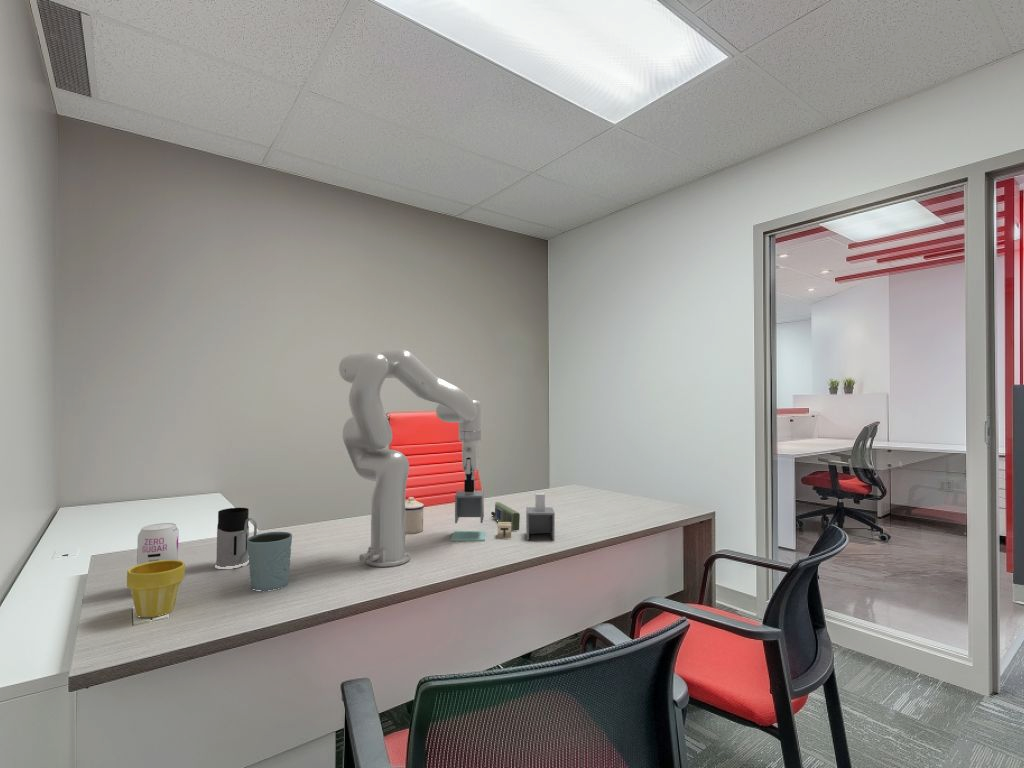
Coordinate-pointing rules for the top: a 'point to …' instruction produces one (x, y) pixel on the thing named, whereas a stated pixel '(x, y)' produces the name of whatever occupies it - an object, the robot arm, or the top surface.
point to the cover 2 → (540, 517)
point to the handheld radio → (506, 515)
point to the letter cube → (504, 529)
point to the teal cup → (269, 560)
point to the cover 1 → (469, 504)
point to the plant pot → (155, 586)
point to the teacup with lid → (413, 516)
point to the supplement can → (157, 543)
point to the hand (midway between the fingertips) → (469, 490)
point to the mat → (468, 536)
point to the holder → (233, 536)
